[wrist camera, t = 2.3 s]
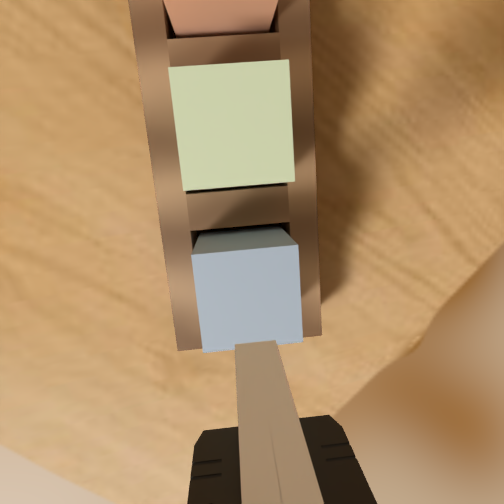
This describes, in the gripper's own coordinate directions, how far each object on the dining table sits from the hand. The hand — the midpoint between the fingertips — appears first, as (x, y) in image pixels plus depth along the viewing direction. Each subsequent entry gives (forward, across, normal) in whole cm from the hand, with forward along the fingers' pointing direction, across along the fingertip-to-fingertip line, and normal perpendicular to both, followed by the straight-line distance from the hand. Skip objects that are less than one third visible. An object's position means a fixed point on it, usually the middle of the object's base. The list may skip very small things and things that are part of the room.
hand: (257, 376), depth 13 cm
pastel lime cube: (+15, 0, +10) cm, 17 cm away
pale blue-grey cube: (+15, 0, 0) cm, 15 cm away
